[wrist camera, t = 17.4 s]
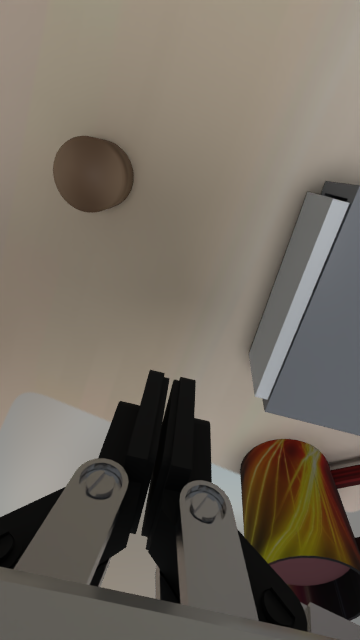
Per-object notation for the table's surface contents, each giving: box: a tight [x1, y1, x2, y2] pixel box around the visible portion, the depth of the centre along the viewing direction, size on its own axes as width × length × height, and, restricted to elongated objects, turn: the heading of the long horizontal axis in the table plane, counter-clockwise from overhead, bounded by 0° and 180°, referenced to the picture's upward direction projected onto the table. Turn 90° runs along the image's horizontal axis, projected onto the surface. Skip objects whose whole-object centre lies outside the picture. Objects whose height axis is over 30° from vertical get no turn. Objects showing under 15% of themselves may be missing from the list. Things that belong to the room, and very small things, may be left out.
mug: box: [240, 439, 360, 621], centre depth 32 cm, size 10×14×12 cm
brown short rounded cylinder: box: [53, 136, 133, 213], centre depth 26 cm, size 5×5×4 cm
